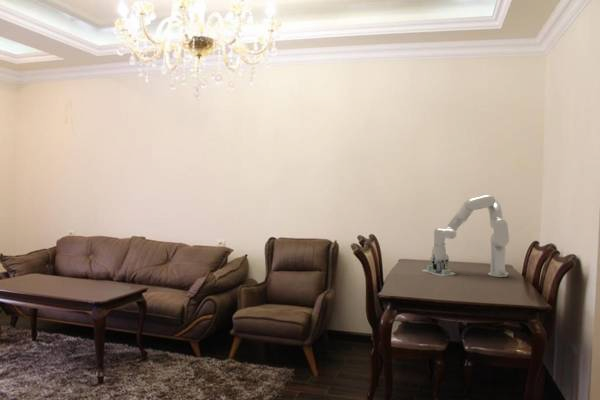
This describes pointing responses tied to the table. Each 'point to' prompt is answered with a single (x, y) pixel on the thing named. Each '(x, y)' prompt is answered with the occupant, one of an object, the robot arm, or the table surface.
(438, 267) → the hub
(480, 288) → the table surface
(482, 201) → the robot arm
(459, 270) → the table surface
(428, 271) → the seat
